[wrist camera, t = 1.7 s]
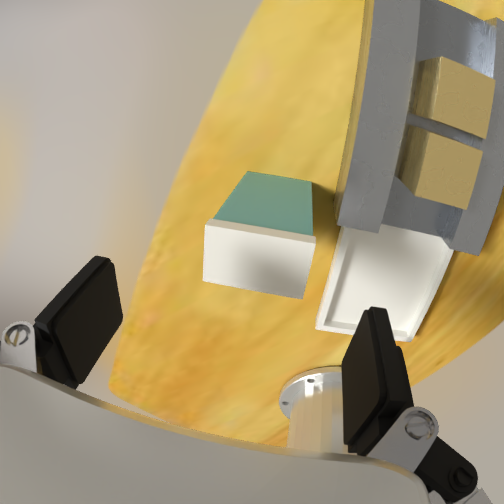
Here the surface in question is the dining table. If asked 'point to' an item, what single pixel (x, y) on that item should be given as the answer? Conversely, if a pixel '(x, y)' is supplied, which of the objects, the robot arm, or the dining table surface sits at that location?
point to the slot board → (417, 121)
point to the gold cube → (454, 95)
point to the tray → (382, 278)
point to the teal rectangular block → (262, 236)
